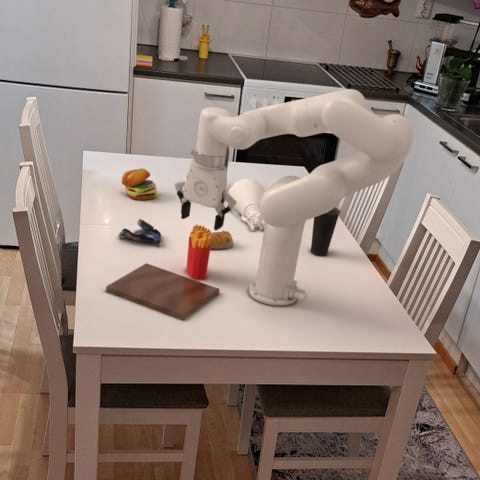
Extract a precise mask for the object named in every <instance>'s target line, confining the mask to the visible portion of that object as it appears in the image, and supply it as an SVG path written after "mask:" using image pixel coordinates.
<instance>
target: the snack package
mask: <svg viewBox="0 0 480 480" xmlns="http://www.w3.org/2000/svg"><path fill="white" fill-rule="evenodd" d="M136 222H137V225H138V226H139V228H138V229H136V230H133V231H131V230H130V229H128V228H122V230H121V231H120V232H119V234H117V236H118V237H119V238H118V239H121V238H122V237H123V238H126V239H130V240H135V241H138V242H155V243H157V244H160V243H161V241H162V233H161V232H160V231H159V230H158V228H155V227H154V226H153V225H152V224H151V223H149V222H148V221H146V220H143V219H141V218H139V219H137V221H136Z"/></svg>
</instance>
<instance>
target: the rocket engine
mask: <svg viewBox="0 0 480 480" xmlns="http://www.w3.org/2000/svg"><path fill="white" fill-rule="evenodd" d="M227 193H228V194H229V195H230V196H231V197H232V198H233V199H234V200H235V201H236V202H237V203H236V205H235V206H234V207H233V208H232V209H234V210H235V211H236V212H237V213H238V214H239V215H241V216H240V219H241V221H243V222H245V223H247V225H248V227H249V230H250V231H251V232H255V231H256V230H257V229H259V230H263V226H265V224H266V222H265V221H264V220H263V219H262V217H261V215H260V212H259V203H260V200H261V198H262V196H263V195H264V188H263V186H262V184H261V183H260V182H259V181H258V180H256V179H253V178H243V179H239V180H238V181H236V182H235V183H233V184H232V185H231V186H230V188H229V190H228V192H227ZM262 225H263V226H262Z"/></svg>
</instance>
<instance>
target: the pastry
mask: <svg viewBox="0 0 480 480" xmlns="http://www.w3.org/2000/svg"><path fill="white" fill-rule="evenodd" d="M211 234H212V238H211V242H210V245H211V248H210V250H224V249H230V248H232V247H233V246H234V239H233V237H232V234H231V233H230V232H229V231H227V230H222V231H213V232H211Z"/></svg>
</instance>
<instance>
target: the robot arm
mask: <svg viewBox="0 0 480 480" xmlns="http://www.w3.org/2000/svg"><path fill="white" fill-rule="evenodd" d="M411 123H412V122H411V121H410V120H409V119H408V117H406V116H404V115H402V114H397V113H392V114H388V115H385V116H383V117H382V118H381V117H380V116H378V115H377V114H374V113H373V112H372V111H370V110H368V105H367V101H366V98H365V97H364V94H362V93H361V92H360V91H359V90H357V89H353V88H346V89H340V90H336V91H331V92H326V93H322V94H319V95H314V96H310V97H305V98H301V99H297V100H291V101H287V102H282V103H276V104H271V105H266V106H263V107H259V108H253V109H250V110H247V111H245V112H243V113H241V114H239V115H236V116H232V115H231V112H229V111H228V110H227V109H225V108H222V107H216V106H215V107H214V106H208V107H204V108H203V109H202V110H201V111H200V114H199V121H198V130H197V137H196V145H195V149H193V148H192V149H191V151H190V155H193V159H192V160H191V161H190V163H189V166H188V169H187V171H186V177H185V180H183V181H178V182H175V184H174V187H175V191H176V195H177V197H178V199H179V202H180V204H181V208H180V214H181V216H180V218H181V220H185V219H187V218H189V217H190V216H191V215H190V214H191V207H192V202H193V203H195V204H198V205H200V206H205V207H207V208H211V209H215V212H216V213H217V214H215V219H214V224H213V230H214V231H218V230H220V229H222V228H223V227H224V223H225V217H226V214H228V213H230V212H232V210H233V209H234V208H233V207H234V206H235V205H236V203H237V202H236V201H235V200H234V199H233V198H232V197H231V196H230V195H229V194H228V192H227V190H228V189H227V187H228V168H227V169H226V167H225V166H224V165H225V158H226V151H227V145H228V146H229V148H232V149H235V150H247V149H249V148H250V147H252V146H253V145H254V144H255V143H257V142H259V141H260V140H263V139H267V138H272V137H277V136H283V135H295V136H296V137H299V138H305V137H311V136H315V135H319V134H324V133H328V132H330V133H331V134H333V135H334V136H335V137H337V138H338V139H340V140H342V141H343V142H344V143H346V144H348V145H350V146H351V147H353V148H354V149H356V150H358V151H356V152H353V153H351V154H349V155H346V156H344V157H340V158H338V159H335V160H333V161H329V162H327V163H323V164H320V165H318V166H316V167H315V168H314V169H313V170H312V171H311V172H310V173H309V174H308V175H305V176H303V177H299V176H296V175H286V176H284V177H281V178H279V179H278V180H277V181H276V182H274V184H272V185H271V186H270V188H268V189H267V190H266V191H265V192H263V196H262V198H261V200H260V203H259V212H260V215H261V217H262V219H263V220H264V221H265V222H266V224H265V225H264V230H263V236H262V242H261V248H260V255H259V260H258V267H257V274H256V281H254V282H252V283H251V284H250V285H249V286H248V294H249V296H250V297H251V298H252V299H253V300H255V301H256V302H259V303H261V304H264V305H269V306H275V307H277V306H278V307H282V306H283V307H284V306H289V305H292V304H294V303H296V301H297V300H298V301H301V302H306V300H307V297H308V295H307V294H306V293H307V290H305V289H303V288H299V287H298V281H297V280H295V277H296V271H297V266H298V259H299V255H300V248H301V244H302V240H303V234H304V229H305V225H306V221H308V220H311V219H314V217H317V216H319V215H322V214H324V213H327V212H328V211H330V210H332V209H333V208H335V207H336V208H337V206H338V205H339V203H341V201H342V200H343V199H345V198H346V197H347V196H349V195H352V194H354V193H357V192H360V191H362V190H364V189H366V188H369V187H372V186H374V185H377V184H379V183H381V182H383V181H384V180H386V179H388V178H389V177H390V176H392V175H393V174H394V173H396V172H397V170H398V169H399V168H400V167H402V164H403V163H404V162H405V161H406V159H407V158H408V155H409V152H410V150H411V148H412V145H413V139H414V138H413V137H414V129H413V126H412V125H413V124H411ZM225 202H227V206H225Z"/></svg>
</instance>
